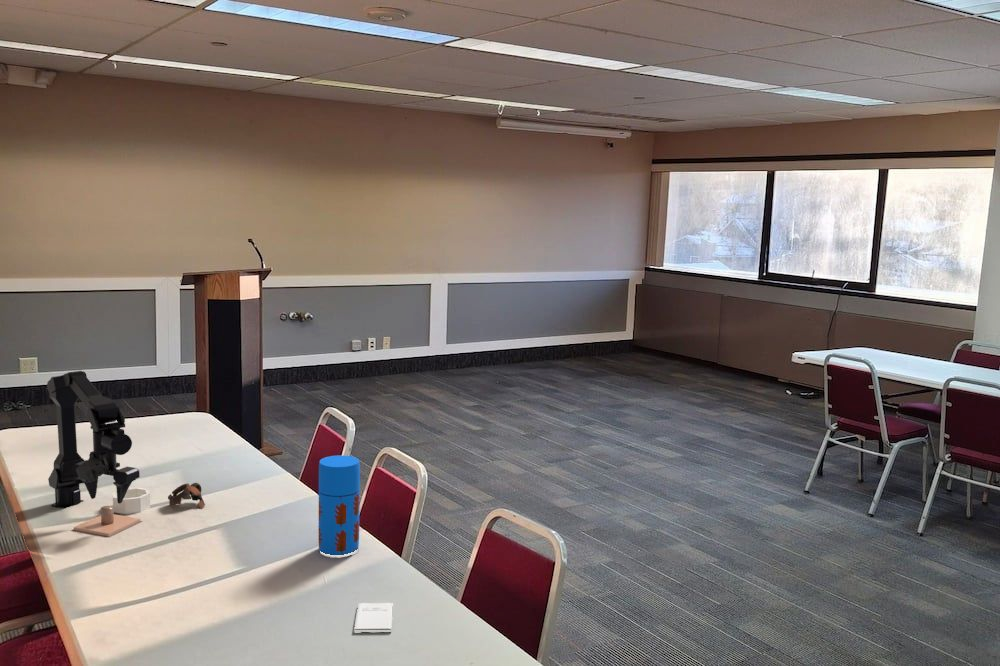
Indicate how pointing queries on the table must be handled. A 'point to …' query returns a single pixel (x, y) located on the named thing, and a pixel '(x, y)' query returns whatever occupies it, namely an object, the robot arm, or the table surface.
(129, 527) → the mat
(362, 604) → the external hard drive
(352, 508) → the thermos
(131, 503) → the bowl
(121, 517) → the lid
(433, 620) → the table surface
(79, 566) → the table surface
